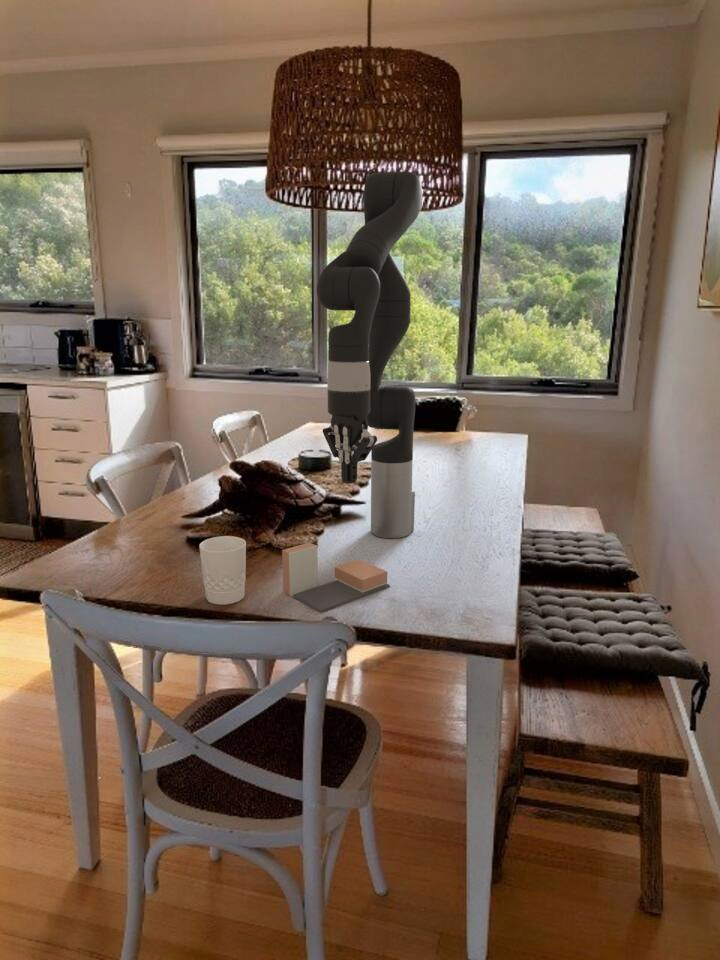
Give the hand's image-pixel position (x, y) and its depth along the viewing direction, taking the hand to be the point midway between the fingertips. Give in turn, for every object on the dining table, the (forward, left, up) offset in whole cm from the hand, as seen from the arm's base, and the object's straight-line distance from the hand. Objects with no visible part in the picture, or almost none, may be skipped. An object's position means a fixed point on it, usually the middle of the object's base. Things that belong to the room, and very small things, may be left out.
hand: (349, 482), depth 116 cm
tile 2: (0, -1, -17) cm, 17 cm away
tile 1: (+10, -2, -19) cm, 21 cm away
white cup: (+22, -8, -19) cm, 30 cm away
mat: (+5, +4, -19) cm, 20 cm away
